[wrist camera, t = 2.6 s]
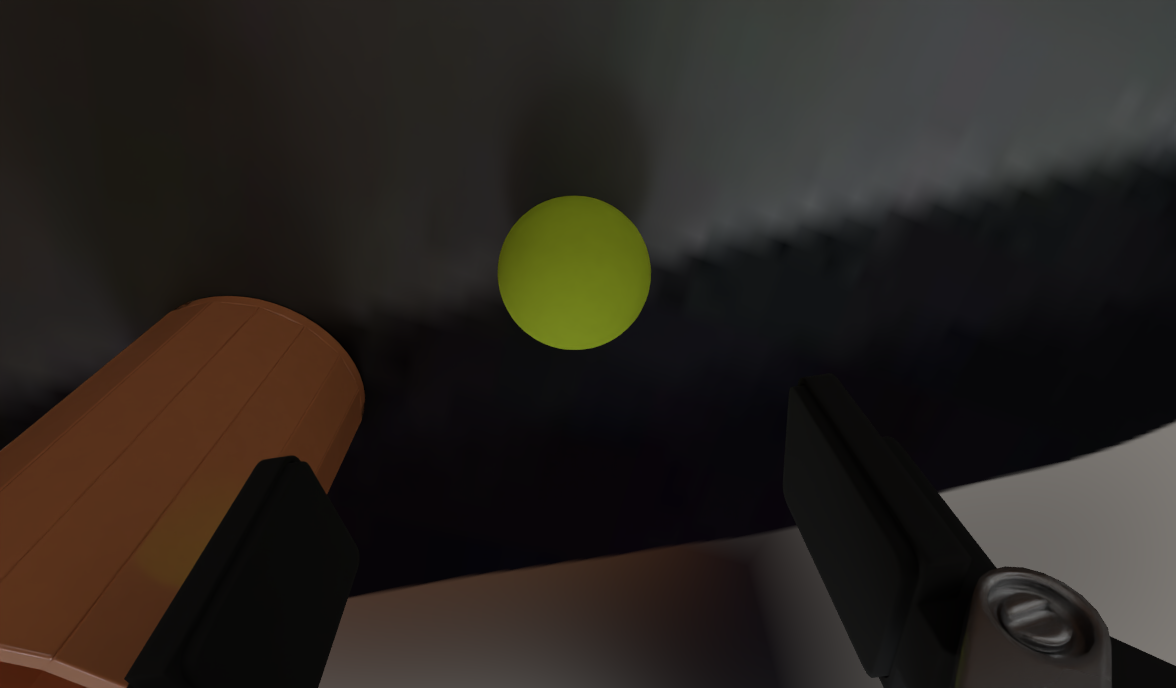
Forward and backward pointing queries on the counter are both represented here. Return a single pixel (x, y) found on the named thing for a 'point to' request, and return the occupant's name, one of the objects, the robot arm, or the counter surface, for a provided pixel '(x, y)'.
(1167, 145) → the counter surface
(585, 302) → the ball
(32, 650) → the tube
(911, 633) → the robot arm
